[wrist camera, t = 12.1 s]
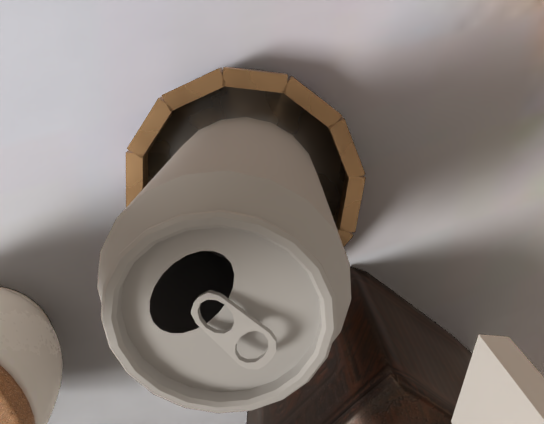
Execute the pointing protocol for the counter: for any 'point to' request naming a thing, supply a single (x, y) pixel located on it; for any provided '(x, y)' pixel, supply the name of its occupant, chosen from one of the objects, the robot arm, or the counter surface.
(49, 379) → the lidded jar
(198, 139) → the can
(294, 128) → the coaster
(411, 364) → the dark brown coffee grinder
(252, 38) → the counter surface
